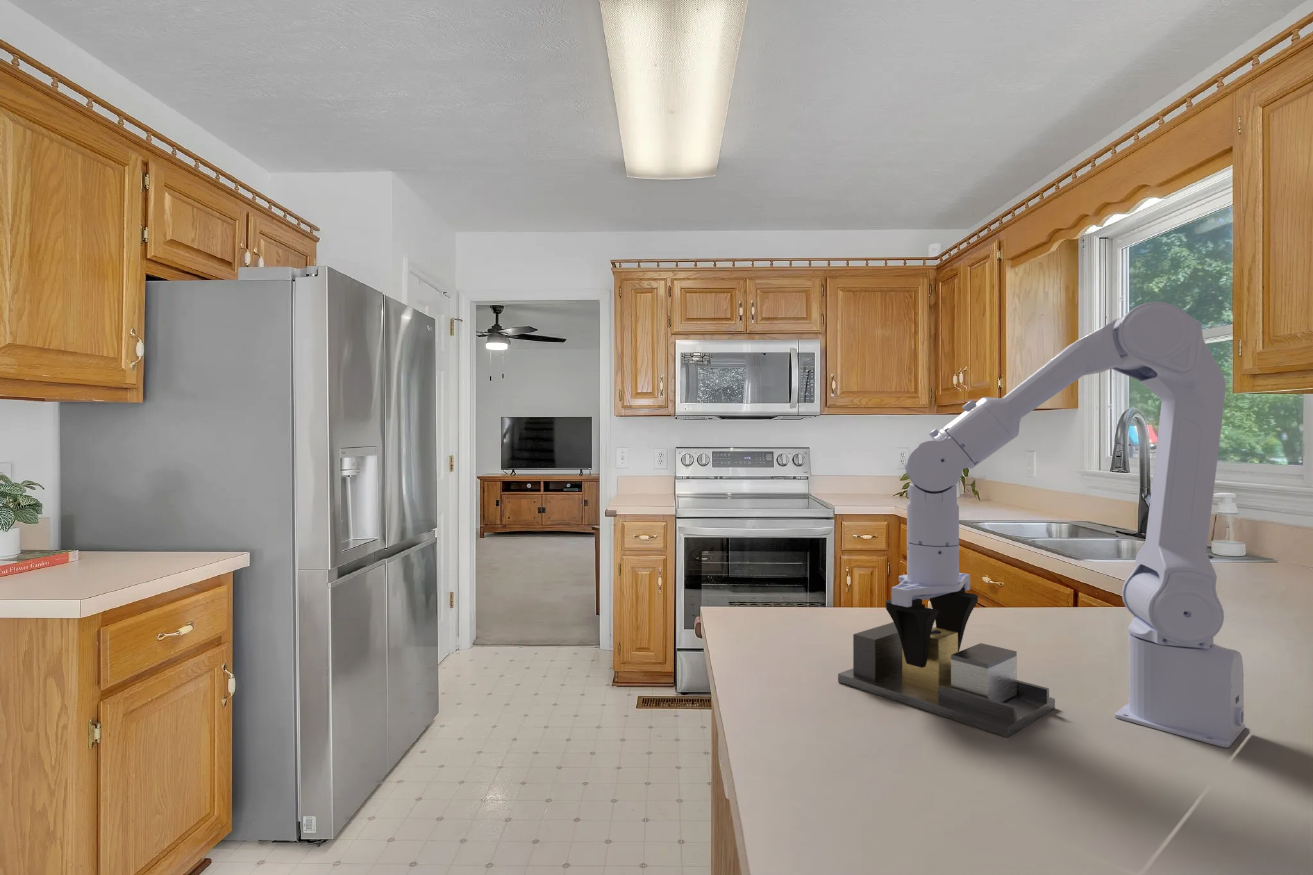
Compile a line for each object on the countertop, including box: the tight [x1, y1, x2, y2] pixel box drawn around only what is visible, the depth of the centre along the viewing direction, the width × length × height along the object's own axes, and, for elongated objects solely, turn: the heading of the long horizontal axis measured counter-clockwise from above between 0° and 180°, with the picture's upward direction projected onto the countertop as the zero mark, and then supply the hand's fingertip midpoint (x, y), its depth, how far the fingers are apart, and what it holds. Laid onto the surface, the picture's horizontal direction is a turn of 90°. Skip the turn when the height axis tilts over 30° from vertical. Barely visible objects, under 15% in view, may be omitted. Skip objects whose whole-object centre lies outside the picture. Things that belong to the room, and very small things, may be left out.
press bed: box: [837, 621, 1056, 738], centre depth 78 cm, size 20×12×6 cm, turn 39°
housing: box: [902, 626, 958, 692], centre depth 79 cm, size 4×4×6 cm
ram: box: [951, 642, 1018, 702], centre depth 74 cm, size 4×7×5 cm, turn 129°
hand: (932, 658), depth 79 cm, fingers open, 7 cm apart
